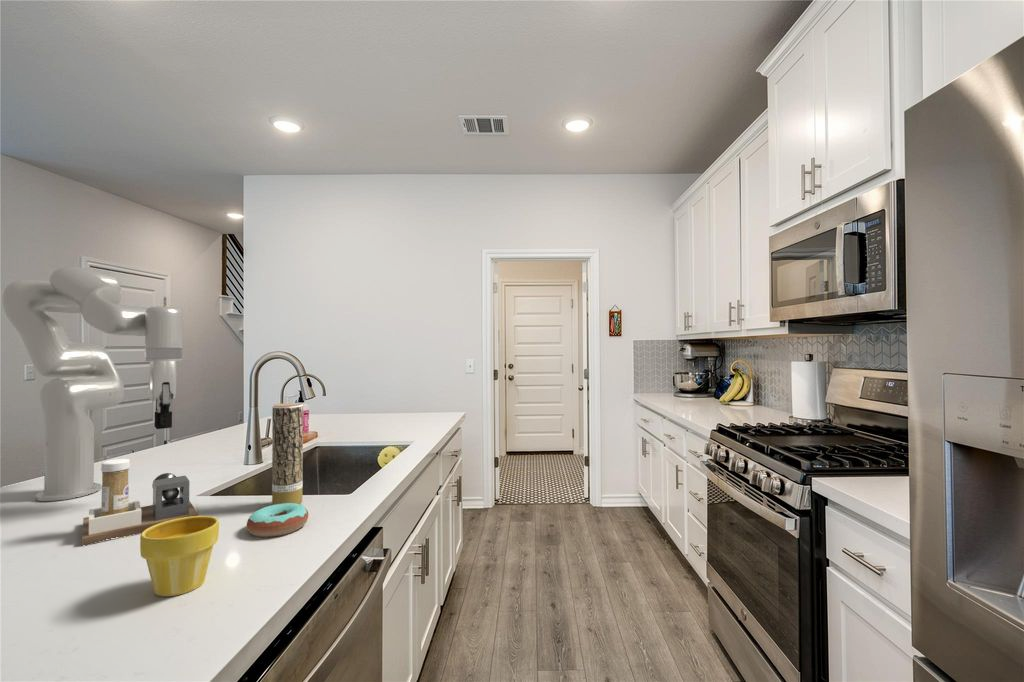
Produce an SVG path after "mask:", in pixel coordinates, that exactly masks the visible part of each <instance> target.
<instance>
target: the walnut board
mask: <svg viewBox="0 0 1024 682" xmlns="http://www.w3.org/2000/svg"><path fill="white" fill-rule="evenodd" d="M140 507H141V524H139V525H135V526H130V527H125V528H120V529H116V530H111V531H106V532H101V533H96V534H92V535H89V516H85V517H83V520H82V521H83V522H82V544H81V545H82V547H84V546H83V545H85V546H88V544H90V545H92V544H91V543H94V544H96V543H95V542H99V541H103V540H106V539H111V538H116V537H122V538H125V537H124V536H126V537H130V536H129V535H131V536H134V535H133V534H135V535H139V534H138V533H140V534H141V533H142V532H143V531H144V530H146V529H148V528H150V527H152V526H154V525H156V524H159V523H162V522H166V521H169V520H173V519H178V518H184V517H191V516H199V513H198V511H197V510H196V508H195V506H194V505H193V504H192V502H191V501H190V500H189V514H187V515H182V516H177V517H172V518H168V519H163V520H158V521H155V518H154V516H153V504H149V505H146V506H140ZM99 543H100V542H99Z"/></svg>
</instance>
